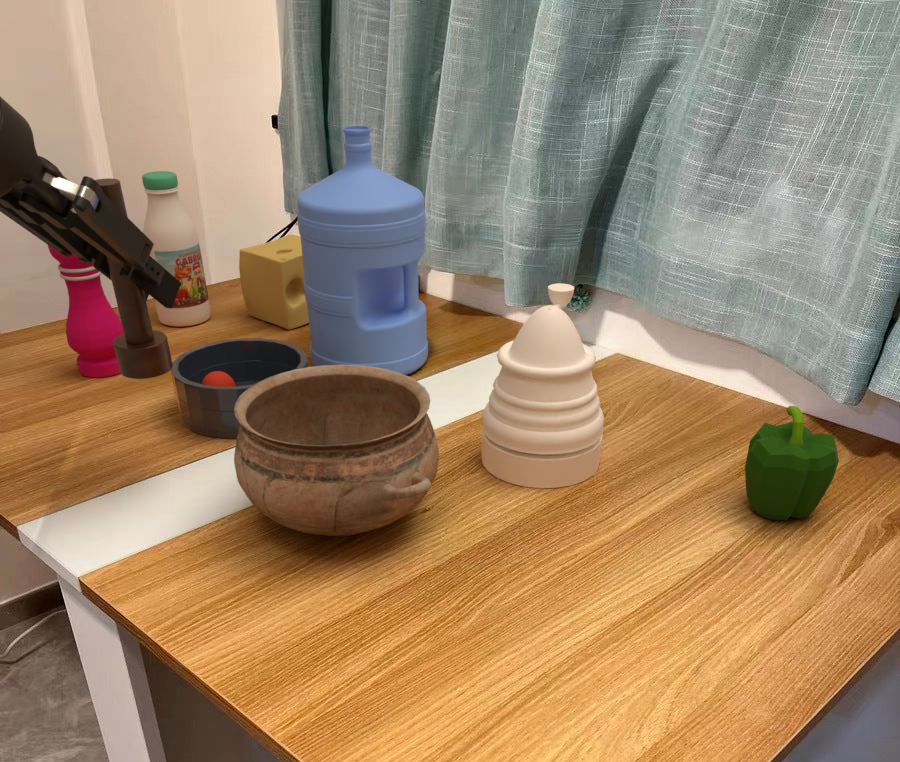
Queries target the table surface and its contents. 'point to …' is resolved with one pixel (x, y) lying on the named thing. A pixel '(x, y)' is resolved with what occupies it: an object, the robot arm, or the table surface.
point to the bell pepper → (789, 468)
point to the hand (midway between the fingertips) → (160, 292)
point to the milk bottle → (175, 250)
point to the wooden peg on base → (134, 315)
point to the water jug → (363, 264)
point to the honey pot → (544, 403)
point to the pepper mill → (89, 318)
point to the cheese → (275, 282)
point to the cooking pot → (335, 448)
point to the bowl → (243, 363)
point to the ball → (218, 379)
